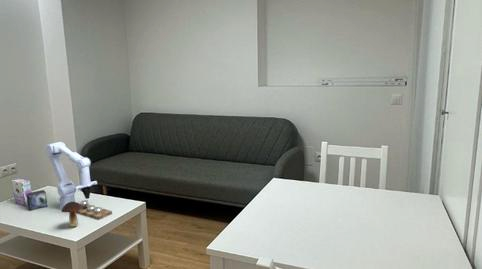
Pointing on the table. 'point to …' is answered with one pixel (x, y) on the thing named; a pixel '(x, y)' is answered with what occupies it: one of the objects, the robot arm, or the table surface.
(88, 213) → the button panel
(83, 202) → the button
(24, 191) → the candy box
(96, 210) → the button
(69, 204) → the decorative mushroom
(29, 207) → the small box
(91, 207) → the button middle
